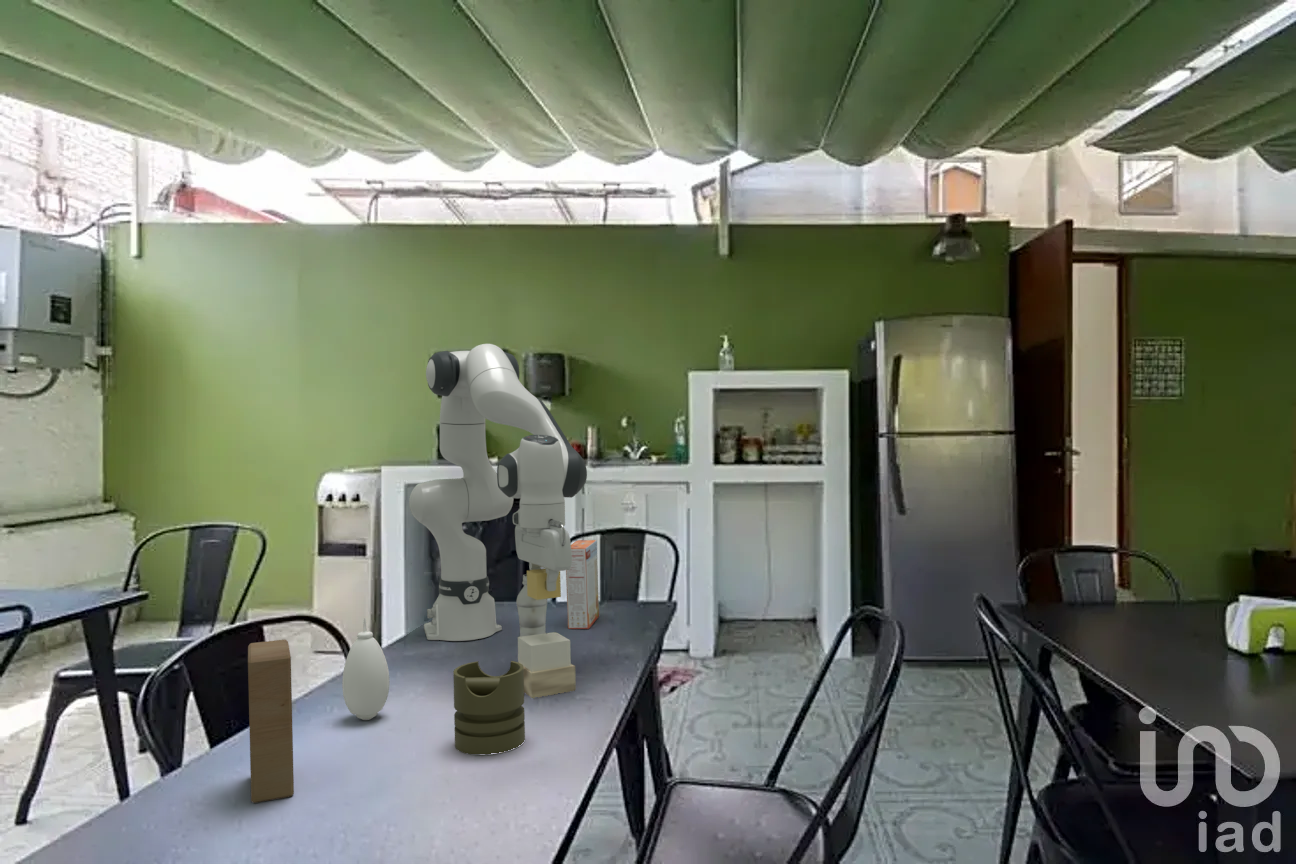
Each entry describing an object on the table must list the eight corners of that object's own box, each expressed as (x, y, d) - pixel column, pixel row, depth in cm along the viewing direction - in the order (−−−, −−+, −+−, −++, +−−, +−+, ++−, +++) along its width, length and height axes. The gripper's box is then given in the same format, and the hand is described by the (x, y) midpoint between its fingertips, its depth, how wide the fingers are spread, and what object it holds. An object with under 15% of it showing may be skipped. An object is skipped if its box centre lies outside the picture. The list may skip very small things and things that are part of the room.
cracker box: (577, 617, 234) (576, 539, 234) (599, 617, 233) (598, 539, 233) (565, 629, 220) (564, 547, 220) (589, 629, 219) (587, 547, 219)
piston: (516, 678, 136) (445, 679, 137) (518, 755, 137) (446, 755, 137) (528, 659, 148) (462, 660, 148) (530, 729, 148) (464, 730, 148)
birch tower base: (515, 687, 173) (515, 662, 173) (557, 680, 177) (556, 655, 177) (532, 699, 165) (531, 673, 165) (575, 691, 169) (575, 666, 169)
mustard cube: (550, 592, 174) (550, 567, 174) (560, 596, 170) (560, 571, 170) (527, 595, 172) (526, 570, 172) (536, 599, 167) (536, 573, 167)
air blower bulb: (398, 713, 158) (396, 614, 157) (371, 727, 150) (369, 623, 150) (362, 709, 160) (360, 612, 160) (334, 723, 153) (331, 621, 153)
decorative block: (251, 775, 130) (248, 642, 130) (292, 769, 132) (289, 638, 132) (249, 805, 120) (246, 660, 120) (294, 797, 122) (290, 655, 122)
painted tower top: (518, 662, 173) (517, 637, 173) (556, 656, 176) (555, 632, 176) (531, 671, 166) (531, 645, 166) (570, 665, 169) (570, 640, 169)
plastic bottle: (544, 674, 181) (542, 578, 181) (513, 672, 182) (511, 577, 182) (553, 665, 187) (551, 572, 187) (523, 664, 188) (521, 572, 188)
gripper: (579, 520, 163) (581, 594, 163) (538, 512, 181) (539, 579, 181) (548, 523, 160) (549, 598, 160) (509, 514, 178) (510, 582, 178)
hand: (544, 588), depth 171 cm, fingers closed on mustard cube, 5 cm apart
